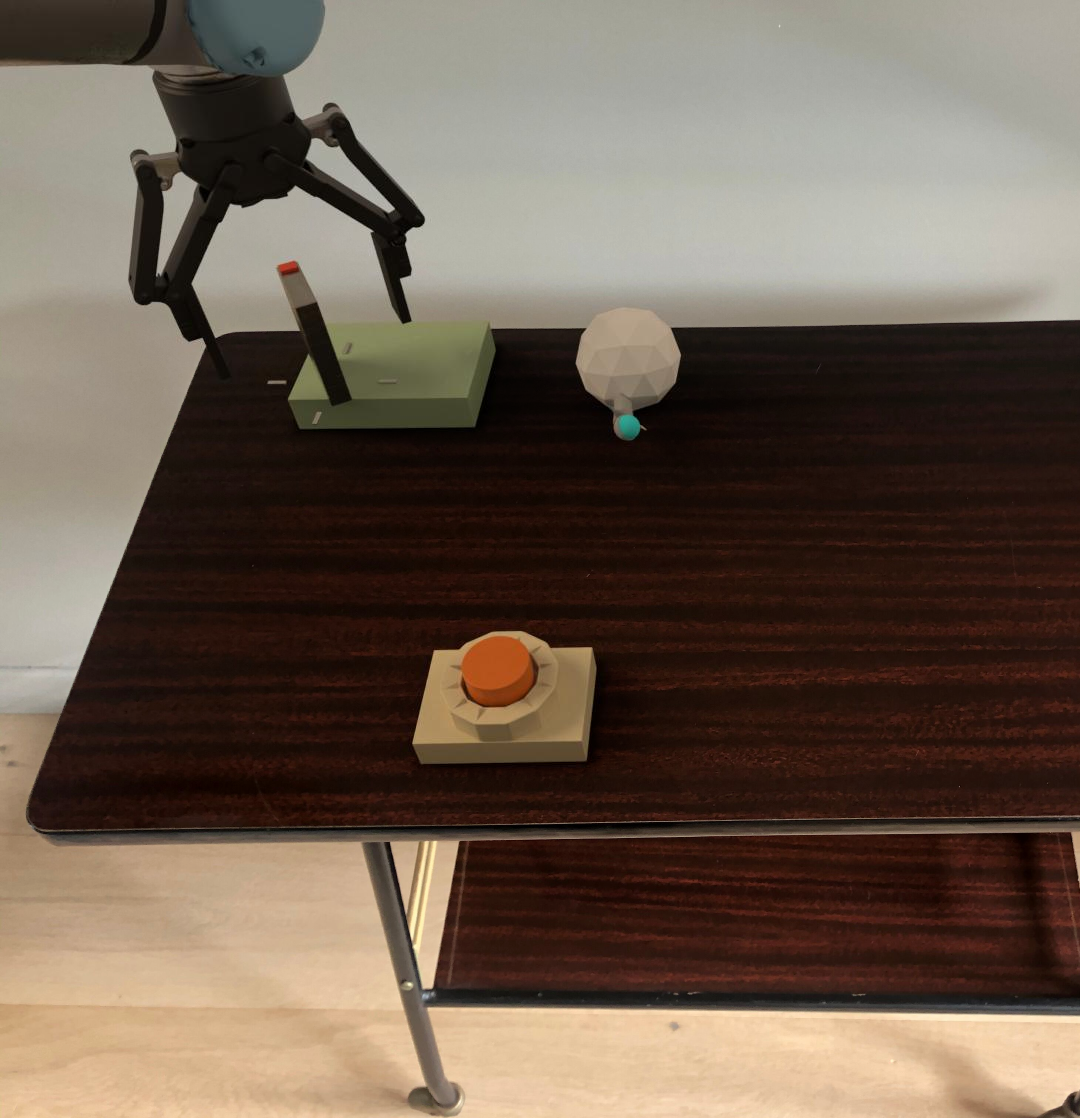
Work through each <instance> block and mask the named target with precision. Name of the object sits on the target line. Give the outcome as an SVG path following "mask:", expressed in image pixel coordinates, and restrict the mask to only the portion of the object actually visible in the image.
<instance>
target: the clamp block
mask: <svg viewBox="0 0 1080 1118" xmlns="http://www.w3.org/2000/svg"><path fill="white" fill-rule="evenodd" d="M325 325H326V328H327V330H328V333H329V336H330V339H331V341H332V344H333V347H334V350H335V353H336V355H337V358H338V361H339V364H340V367H341V369H342V372H343V375H344V378H345V380H346V383H347V386H348V389H349V392H350V394H351V397H352V400H351V401H348V402H345V403H342V404H339V405H336V406H331V403H330V401H329V399H328V397H327V395H326V393H325V390H324V388H323V386H322V384H321V382H320V379H319V377H318V375H317V373H316V371H315V368H314V366H313V364H312V361H311V359H310V356H309V353H308V354H307V356H306V359H305V360H304V362H303V366H302V367H301V370H300V372H299V374H298V376H297V378H296V381H295V382H294V385H293V387H292V390H291V391H290V394H289V395H288V397H287V398H288V399H287V401H288V404H289V406H290V408H291V411H292V413H293V416H294V418H295V421H296V423H297V425H298V428H299V429H300V430H332V429H333V430H334V429H335V430H338V429H340V430H341V429H343V430H344V429H425V428H427V429H429V428H431V429H432V428H436V429H437V428H438V429H441V428H476V424H477V420H478V417H479V413H480V410H481V406H482V402H483V399H484V395H485V391H486V387H487V384H488V380H489V377H490V373H491V369H492V365H493V362H494V358H495V355H496V351H497V349H496V345H495V341H494V337H493V333H492V328H491V324H490V321H489V320H475V321H474V320H472V321H471V320H467V321H466V320H464V321H461V320H460V321H412V322H409V323H405V324H402V323H401V321H399V322H397V321H396V322H394V321H393V322H392V321H391V322H388V321H387V322H325ZM286 384H287V380H268V381H267V386H286Z"/></svg>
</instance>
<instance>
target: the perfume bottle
mask: <svg viewBox="0 0 1080 1118" xmlns="http://www.w3.org/2000/svg"><path fill="white" fill-rule="evenodd" d="M681 357H682V355H681V350H680V349H679V346H678V343H677V340H676V339H675V336H674V333H673V331H672V328H671V327H670V326H669V325H668V324H667V323H666V322H664V321H663V320H662V319H660V317H659V316H657V315H656V314H655V313H654V312H653V311H652V310H647V309H640V308H632V307H625V306H622V307H618V308H616V309H612V310H609V311H605V312H602V313H598V314H596V316H595V317H594V318H593V320H592V321H591V322H590V323H589V324H588V326H587V327H586V329H585V330H584V331H583V333H582V334H581V336H580V340H579V345H578V350H577V354H576V360H575V365H576V368H577V371H578V373H579V376H580V379H581V382H582V384H583V386H584V389H585V391H586V392H588V393H589V394H590V395H592V397H594V398H595V399H596V400H597V401H599V402H601V403H602V404H603V405H604V406H606V407H608V409H610V410H611V411H612V413H613V418H612V419H613V420H612V424H613V431H614V433H615V435H616V437H618V438H619V439H621V440H622V441H633V440H635V438H636V437H637V436H638V435H639V433H640V431H641V429H642V430H644V431H647V428H645V427H644V426H643V425H641V424H640V421H639V419H637V417H635V416H634V412H635V411H637V410H640V409H643V408H646V407H649V406H653V405H655V404H658V403H660V402H661V400H662V399H663V398H664V397H665V396H666V395H667V394H668V392H670V390H671V389H672V388H673V387H674V385H675V384H676V382H677V377H678V372H679V367H680V361H681Z"/></svg>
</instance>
